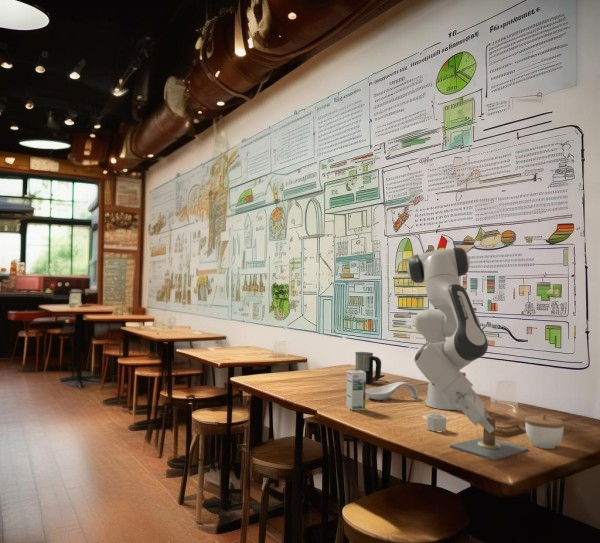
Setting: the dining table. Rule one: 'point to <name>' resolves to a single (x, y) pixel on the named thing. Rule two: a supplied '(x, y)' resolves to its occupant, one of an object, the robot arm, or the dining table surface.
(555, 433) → the lidded jar
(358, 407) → the syrup box
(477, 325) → the robot arm
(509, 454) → the mat
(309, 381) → the dining table surface
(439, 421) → the white octagonal base
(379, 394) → the spoon rest
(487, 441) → the brown peg on disc
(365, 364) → the milk frother
